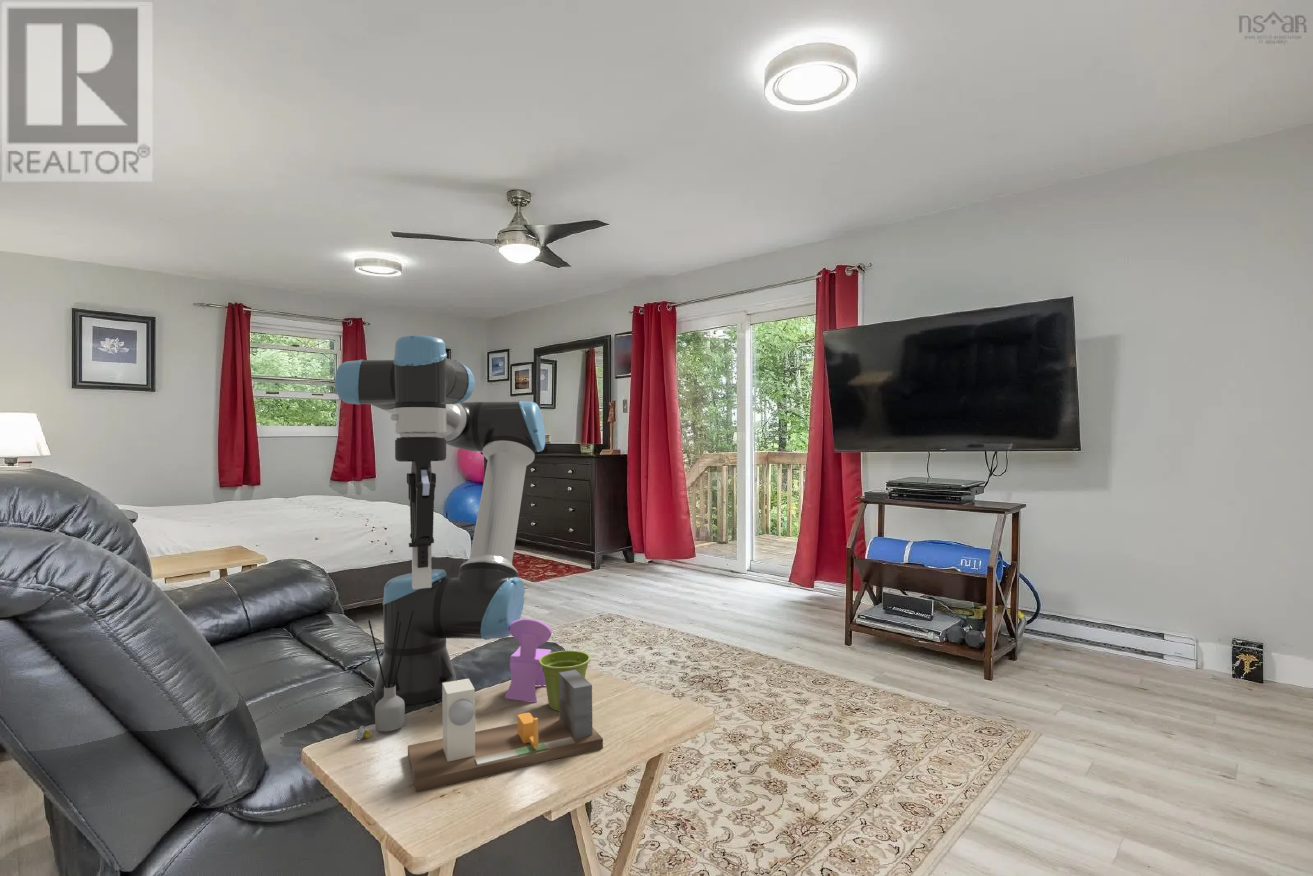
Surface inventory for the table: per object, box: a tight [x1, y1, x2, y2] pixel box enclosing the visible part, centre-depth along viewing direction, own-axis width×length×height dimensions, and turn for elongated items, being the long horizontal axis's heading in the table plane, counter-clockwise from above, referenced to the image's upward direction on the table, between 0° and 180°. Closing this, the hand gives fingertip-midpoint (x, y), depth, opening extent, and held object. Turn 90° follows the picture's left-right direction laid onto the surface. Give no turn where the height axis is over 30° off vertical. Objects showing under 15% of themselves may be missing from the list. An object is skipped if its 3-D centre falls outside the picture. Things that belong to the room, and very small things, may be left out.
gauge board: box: [407, 670, 604, 793], centre depth 101 cm, size 12×28×10 cm, turn 116°
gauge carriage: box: [441, 678, 476, 762], centre depth 97 cm, size 6×4×10 cm
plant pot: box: [539, 650, 591, 712], centre depth 119 cm, size 9×9×9 cm
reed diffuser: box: [355, 611, 414, 740], centre depth 108 cm, size 10×7×20 cm
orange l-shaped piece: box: [516, 712, 539, 749], centre depth 101 cm, size 8×2×5 cm, turn 26°
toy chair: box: [504, 617, 553, 703], centre depth 125 cm, size 8×9×15 cm
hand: (421, 587), depth 99 cm, fingers closed
